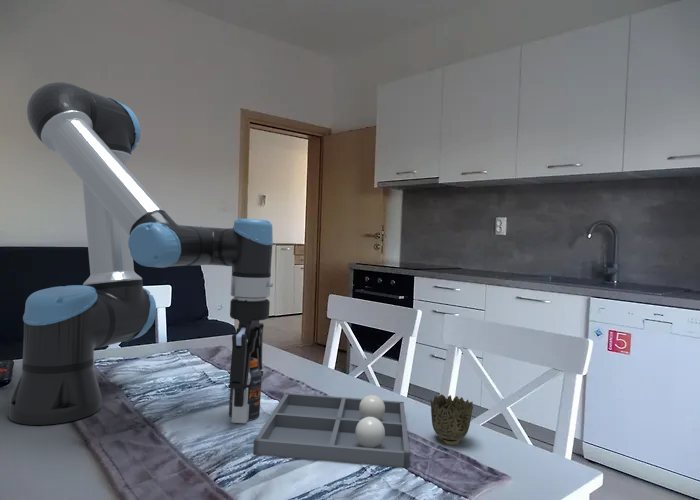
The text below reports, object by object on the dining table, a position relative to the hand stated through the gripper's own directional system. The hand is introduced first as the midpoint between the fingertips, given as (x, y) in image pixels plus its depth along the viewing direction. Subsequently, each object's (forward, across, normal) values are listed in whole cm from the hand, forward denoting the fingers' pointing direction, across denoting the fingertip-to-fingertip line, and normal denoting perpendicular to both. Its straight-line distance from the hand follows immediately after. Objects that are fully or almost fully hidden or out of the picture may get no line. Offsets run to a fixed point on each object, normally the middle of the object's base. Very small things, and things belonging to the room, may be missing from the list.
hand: (245, 414), depth 95 cm
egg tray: (0, -6, -19) cm, 20 cm away
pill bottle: (0, 0, 0) cm, 0 cm away
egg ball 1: (-1, 0, -25) cm, 25 cm away
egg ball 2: (-1, -12, -25) cm, 27 cm away
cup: (+1, -6, -39) cm, 39 cm away
